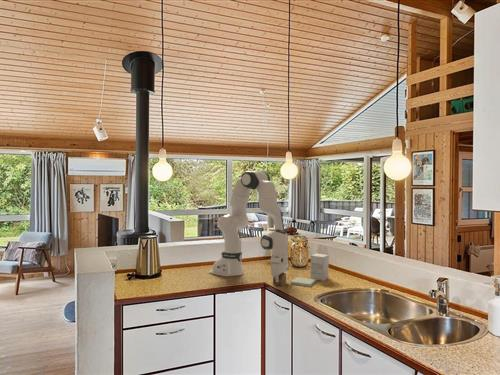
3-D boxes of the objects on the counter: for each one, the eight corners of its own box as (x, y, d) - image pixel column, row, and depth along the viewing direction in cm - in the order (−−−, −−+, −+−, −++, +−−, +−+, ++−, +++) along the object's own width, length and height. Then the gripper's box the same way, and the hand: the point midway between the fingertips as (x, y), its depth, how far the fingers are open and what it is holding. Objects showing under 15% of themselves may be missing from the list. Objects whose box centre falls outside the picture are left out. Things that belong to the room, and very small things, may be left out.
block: (273, 284, 233) (273, 274, 233) (276, 282, 238) (276, 272, 238) (282, 285, 230) (282, 275, 230) (285, 283, 236) (286, 273, 236)
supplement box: (315, 276, 255) (315, 253, 255) (328, 278, 251) (329, 254, 250) (309, 279, 248) (310, 255, 247) (323, 281, 243) (324, 257, 243)
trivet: (290, 284, 235) (290, 281, 235) (296, 279, 246) (296, 277, 246) (310, 286, 230) (310, 284, 230) (315, 281, 241) (315, 279, 241)
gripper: (280, 253, 245) (280, 276, 245) (269, 259, 226) (268, 283, 226) (290, 254, 242) (290, 277, 243) (279, 260, 224) (278, 285, 224)
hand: (279, 280), depth 234 cm, fingers closed on block, 6 cm apart
